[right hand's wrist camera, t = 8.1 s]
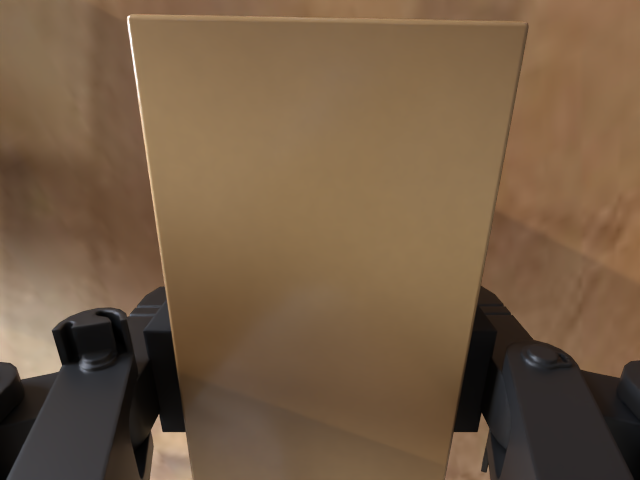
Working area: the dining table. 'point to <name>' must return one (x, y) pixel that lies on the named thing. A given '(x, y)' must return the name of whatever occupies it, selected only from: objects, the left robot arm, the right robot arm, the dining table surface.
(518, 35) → the bar
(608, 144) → the dining table surface
